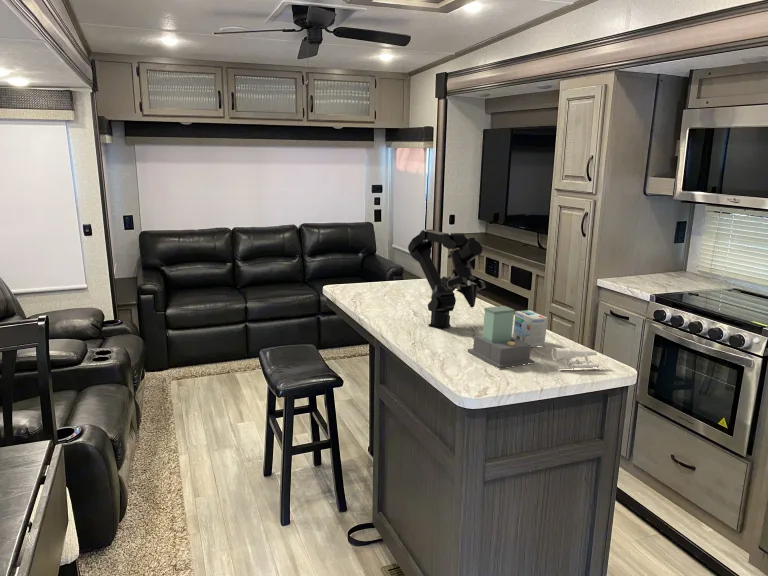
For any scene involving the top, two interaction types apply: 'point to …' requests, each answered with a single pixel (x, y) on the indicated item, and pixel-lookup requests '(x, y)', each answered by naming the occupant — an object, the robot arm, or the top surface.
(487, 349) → the switch housing
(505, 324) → the pale green tall block
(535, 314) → the light bulb box
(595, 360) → the top surface
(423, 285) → the top surface
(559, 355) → the toy cannon
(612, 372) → the top surface
